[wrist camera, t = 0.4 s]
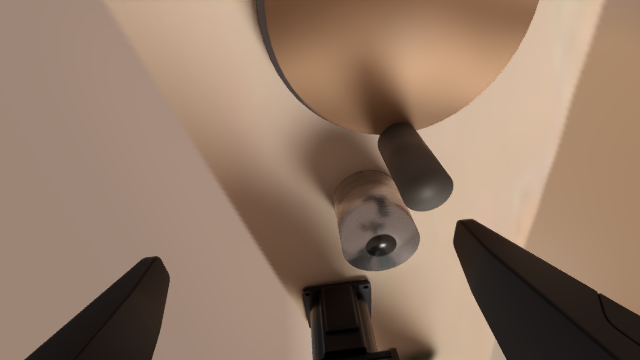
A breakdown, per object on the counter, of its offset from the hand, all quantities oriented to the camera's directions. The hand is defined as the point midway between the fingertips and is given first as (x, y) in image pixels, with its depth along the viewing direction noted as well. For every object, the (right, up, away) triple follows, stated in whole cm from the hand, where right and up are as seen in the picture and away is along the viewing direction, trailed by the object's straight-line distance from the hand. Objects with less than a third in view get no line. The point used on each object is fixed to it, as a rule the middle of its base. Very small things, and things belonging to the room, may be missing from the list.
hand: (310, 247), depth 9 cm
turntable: (+4, +10, +7) cm, 13 cm away
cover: (+4, +1, +15) cm, 15 cm away
